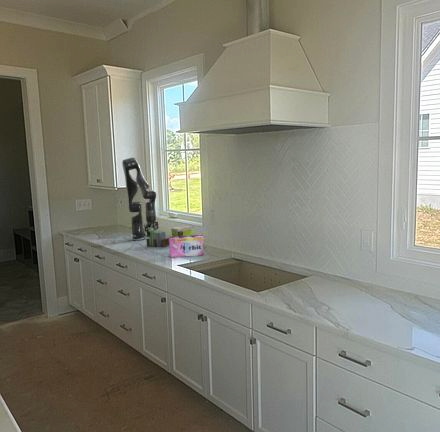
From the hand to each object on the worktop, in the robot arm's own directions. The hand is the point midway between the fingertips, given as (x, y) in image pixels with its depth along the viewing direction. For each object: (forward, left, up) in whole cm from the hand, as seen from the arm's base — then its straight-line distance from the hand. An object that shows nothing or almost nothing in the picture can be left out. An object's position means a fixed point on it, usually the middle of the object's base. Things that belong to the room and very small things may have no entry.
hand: (152, 235), depth 326 cm
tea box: (-10, +22, -9) cm, 26 cm away
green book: (0, 0, -8) cm, 8 cm away
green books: (0, +3, -8) cm, 9 cm away
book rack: (0, +6, -9) cm, 11 cm away
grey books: (0, +8, -8) cm, 11 cm away
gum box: (+19, +44, -9) cm, 49 cm away
